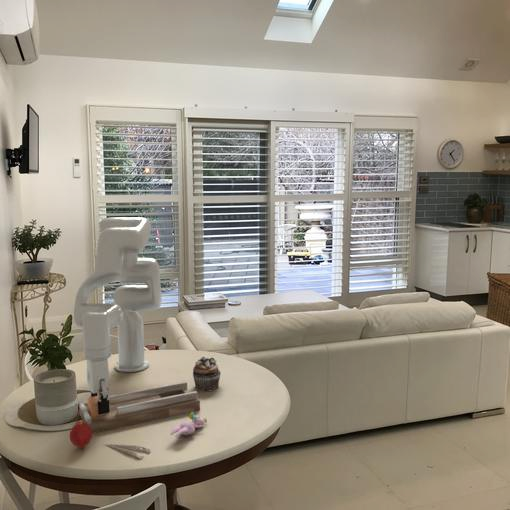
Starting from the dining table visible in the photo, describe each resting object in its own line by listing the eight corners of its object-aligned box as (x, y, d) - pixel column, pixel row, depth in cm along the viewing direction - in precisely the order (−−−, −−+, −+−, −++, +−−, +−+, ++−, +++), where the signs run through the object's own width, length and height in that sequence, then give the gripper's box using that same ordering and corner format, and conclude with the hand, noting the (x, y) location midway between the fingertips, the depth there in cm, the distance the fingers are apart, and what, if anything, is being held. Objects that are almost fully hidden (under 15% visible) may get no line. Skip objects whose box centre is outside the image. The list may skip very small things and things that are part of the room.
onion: (70, 444, 148) (68, 417, 146) (92, 441, 150) (90, 413, 148) (71, 455, 142) (69, 426, 141) (93, 451, 144) (92, 422, 143)
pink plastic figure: (193, 425, 162) (163, 439, 148) (194, 405, 162) (164, 417, 148) (211, 429, 159) (182, 444, 146) (212, 409, 159) (183, 422, 146)
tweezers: (152, 453, 144) (151, 446, 144) (141, 462, 140) (140, 454, 140) (101, 443, 152) (100, 437, 151) (89, 451, 148) (88, 445, 147)
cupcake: (189, 390, 184) (188, 362, 182) (198, 380, 193) (198, 353, 191) (215, 393, 181) (215, 364, 180) (224, 382, 191) (224, 355, 189)
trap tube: (79, 414, 166) (78, 399, 165) (184, 393, 181) (184, 379, 180) (88, 434, 153) (87, 417, 153) (199, 409, 169) (199, 394, 168)
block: (88, 410, 162) (87, 397, 161) (104, 407, 164) (104, 394, 163) (91, 417, 157) (90, 404, 157) (108, 413, 160) (108, 400, 159)
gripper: (79, 345, 164) (82, 398, 167) (90, 363, 149) (93, 421, 152) (104, 341, 168) (106, 393, 171) (117, 358, 153) (119, 415, 155)
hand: (100, 406), depth 161 cm, fingers open, 9 cm apart
